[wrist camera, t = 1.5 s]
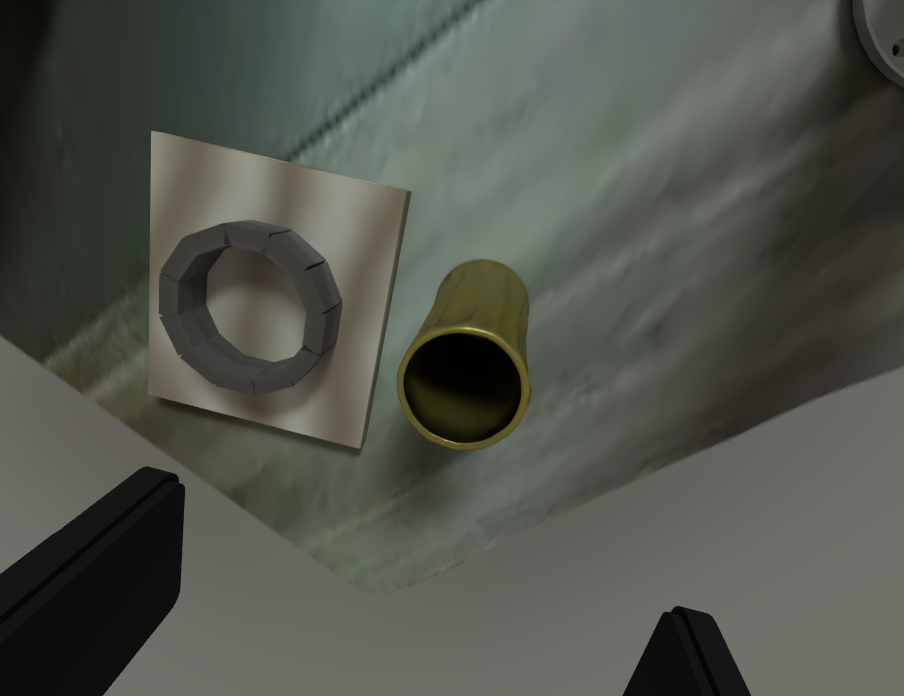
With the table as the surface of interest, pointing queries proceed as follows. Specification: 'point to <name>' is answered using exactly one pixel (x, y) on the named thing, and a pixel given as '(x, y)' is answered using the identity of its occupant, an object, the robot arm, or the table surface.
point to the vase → (469, 359)
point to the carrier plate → (269, 287)
